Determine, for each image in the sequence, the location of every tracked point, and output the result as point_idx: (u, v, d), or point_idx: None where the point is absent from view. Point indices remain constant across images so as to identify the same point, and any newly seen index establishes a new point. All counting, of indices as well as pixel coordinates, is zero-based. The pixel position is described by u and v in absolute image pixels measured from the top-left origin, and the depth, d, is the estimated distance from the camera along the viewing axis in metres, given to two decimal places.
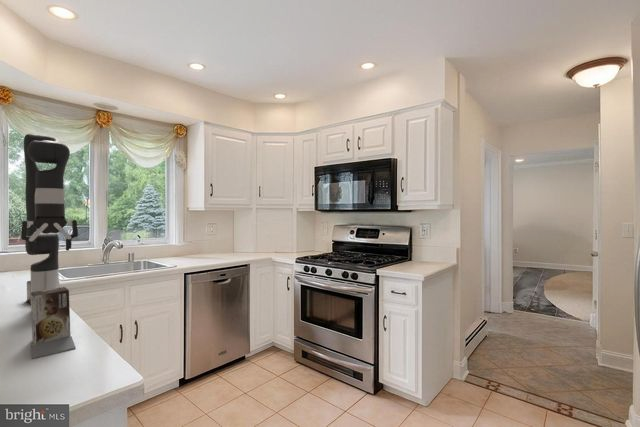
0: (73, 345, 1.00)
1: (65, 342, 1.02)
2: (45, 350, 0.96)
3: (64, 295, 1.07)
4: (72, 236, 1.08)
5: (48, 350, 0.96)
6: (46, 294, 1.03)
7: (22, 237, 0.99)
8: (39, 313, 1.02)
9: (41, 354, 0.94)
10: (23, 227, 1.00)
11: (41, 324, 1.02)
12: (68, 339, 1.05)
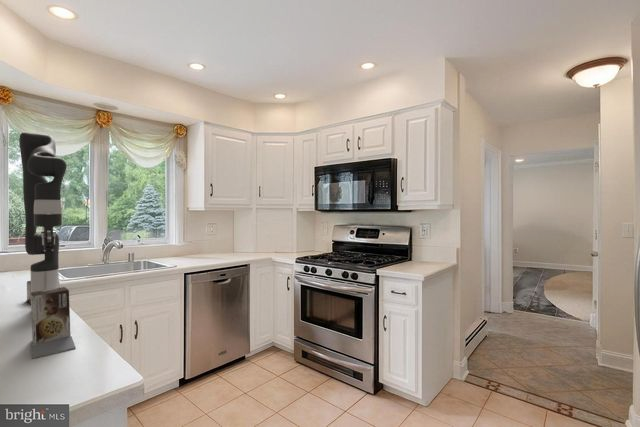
0: (73, 345, 1.00)
1: (65, 342, 1.02)
2: (45, 350, 0.96)
3: (64, 295, 1.07)
4: None
5: (48, 350, 0.96)
6: (46, 294, 1.03)
7: (53, 248, 1.11)
8: (39, 313, 1.02)
9: (41, 354, 0.94)
10: None
11: (41, 324, 1.02)
12: (68, 339, 1.05)
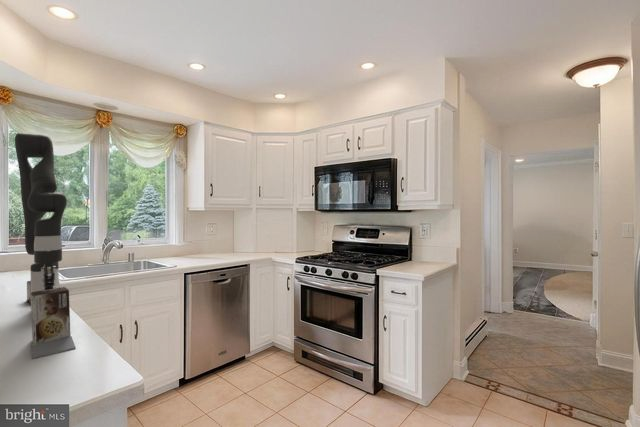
0: (73, 345, 1.00)
1: (65, 342, 1.02)
2: (45, 350, 0.96)
3: (64, 295, 1.07)
4: (51, 283, 1.14)
5: (48, 350, 0.96)
6: (46, 294, 1.03)
7: (53, 284, 1.11)
8: (39, 313, 1.02)
9: (41, 354, 0.94)
10: None
11: (41, 324, 1.02)
12: (68, 339, 1.05)
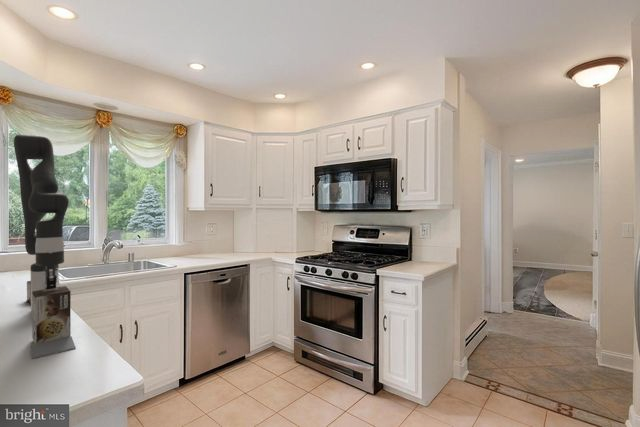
0: (73, 345, 1.00)
1: (65, 342, 1.02)
2: (45, 350, 0.96)
3: (65, 296, 1.06)
4: None
5: (48, 350, 0.96)
6: (47, 295, 1.02)
7: (55, 286, 1.09)
8: (40, 314, 1.01)
9: (41, 354, 0.94)
10: None
11: (42, 325, 1.02)
12: (68, 339, 1.05)
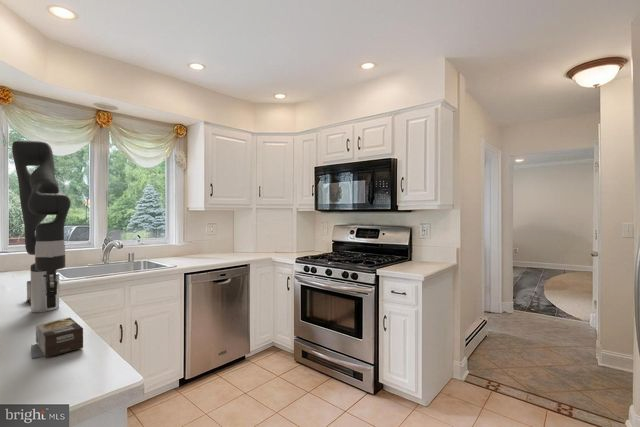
0: None
1: None
2: None
3: None
4: None
5: None
6: (58, 353, 0.94)
7: (56, 293, 1.03)
8: None
9: (41, 354, 0.94)
10: None
11: None
12: None
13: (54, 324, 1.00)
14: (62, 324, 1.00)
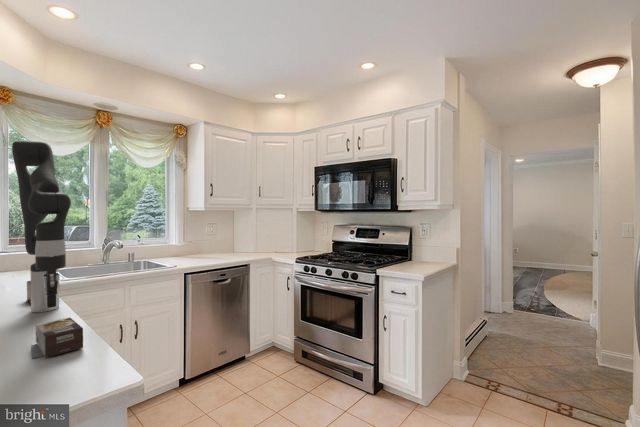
0: None
1: None
2: None
3: None
4: (54, 291, 1.05)
5: None
6: None
7: (56, 292, 1.02)
8: None
9: (41, 354, 0.94)
10: None
11: None
12: None
13: (54, 324, 1.00)
14: (62, 324, 1.00)
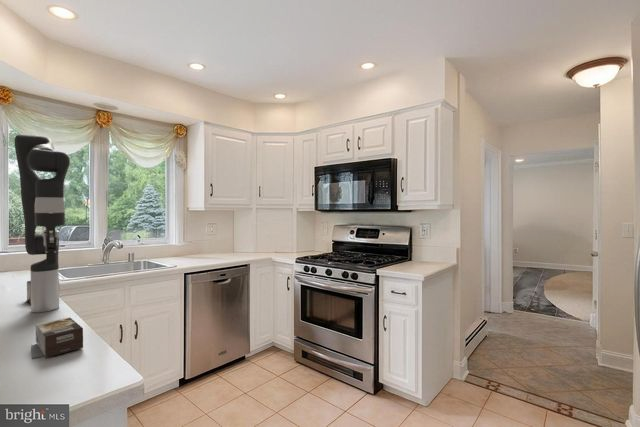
0: None
1: None
2: None
3: None
4: None
5: None
6: None
7: (56, 249, 1.03)
8: None
9: (41, 354, 0.94)
10: None
11: None
12: None
13: (54, 324, 1.00)
14: (62, 324, 1.00)
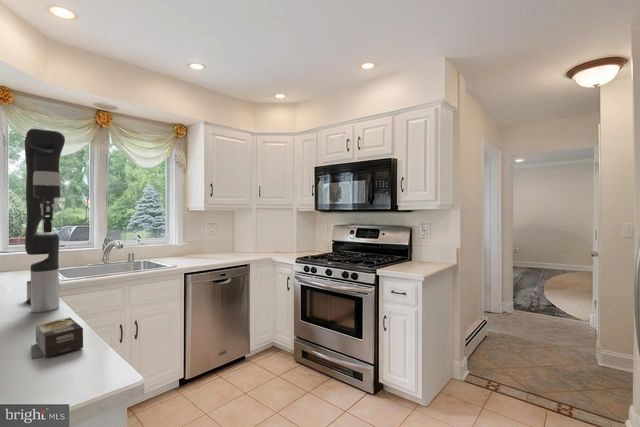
0: None
1: None
2: None
3: None
4: None
5: None
6: None
7: (52, 218, 1.14)
8: None
9: (41, 354, 0.94)
10: None
11: None
12: None
13: (54, 324, 1.00)
14: (62, 324, 1.00)
